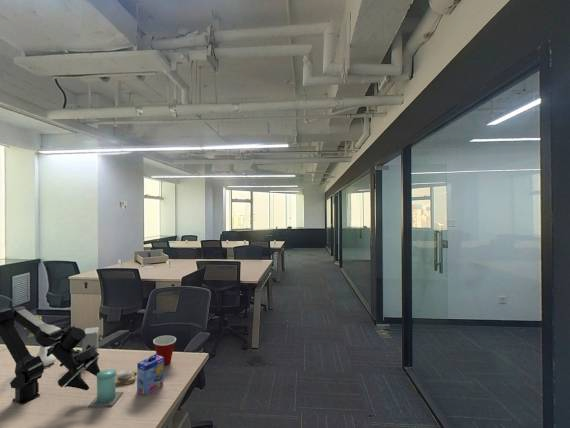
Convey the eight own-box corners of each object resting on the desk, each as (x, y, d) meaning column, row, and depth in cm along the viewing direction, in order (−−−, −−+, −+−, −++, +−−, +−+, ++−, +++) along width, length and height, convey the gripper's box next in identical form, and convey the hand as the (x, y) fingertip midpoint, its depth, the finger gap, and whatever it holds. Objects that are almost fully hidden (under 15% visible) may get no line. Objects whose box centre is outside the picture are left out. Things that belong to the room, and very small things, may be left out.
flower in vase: (53, 357, 161) (53, 309, 162) (59, 363, 154) (60, 313, 154) (20, 366, 151) (21, 315, 152) (26, 374, 144) (26, 320, 144)
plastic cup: (163, 370, 147) (163, 345, 147) (148, 365, 152) (148, 341, 152) (181, 361, 156) (181, 337, 156) (166, 356, 162) (166, 333, 162)
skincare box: (83, 359, 159) (83, 328, 159) (99, 356, 162) (99, 326, 162) (80, 366, 151) (80, 333, 152) (97, 363, 154) (97, 331, 155)
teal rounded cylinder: (99, 405, 118) (99, 378, 119) (93, 398, 123) (94, 373, 123) (118, 397, 123) (118, 372, 124) (112, 391, 128) (112, 367, 128)
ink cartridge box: (144, 396, 126) (145, 360, 126) (136, 392, 128) (136, 357, 129) (164, 384, 135) (164, 351, 135) (156, 381, 137) (156, 348, 137)
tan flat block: (112, 386, 133) (112, 379, 133) (114, 377, 140) (114, 371, 140) (136, 382, 137) (136, 375, 137) (137, 373, 144) (137, 367, 144)
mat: (88, 407, 118) (88, 405, 118) (100, 394, 127) (100, 392, 127) (112, 406, 119) (112, 404, 119) (123, 393, 128) (123, 391, 128)
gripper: (66, 351, 114) (97, 380, 114) (95, 332, 132) (121, 357, 133) (44, 372, 113) (74, 402, 114) (75, 350, 132) (101, 376, 132)
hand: (95, 382), depth 123 cm, fingers open, 9 cm apart
